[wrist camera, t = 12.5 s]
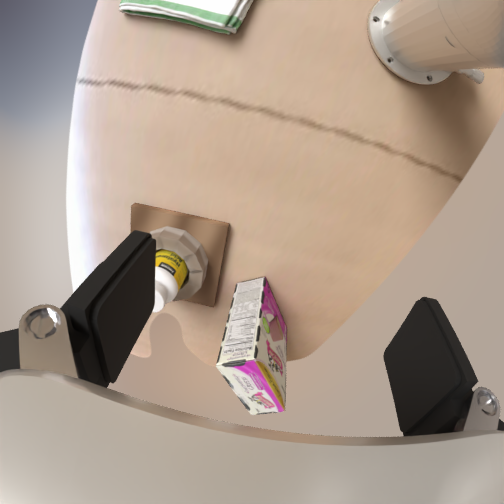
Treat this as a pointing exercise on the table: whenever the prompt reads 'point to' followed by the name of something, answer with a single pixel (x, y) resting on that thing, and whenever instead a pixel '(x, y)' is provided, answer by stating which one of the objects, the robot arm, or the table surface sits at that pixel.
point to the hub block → (187, 247)
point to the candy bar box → (255, 348)
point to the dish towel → (193, 12)
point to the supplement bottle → (168, 277)
